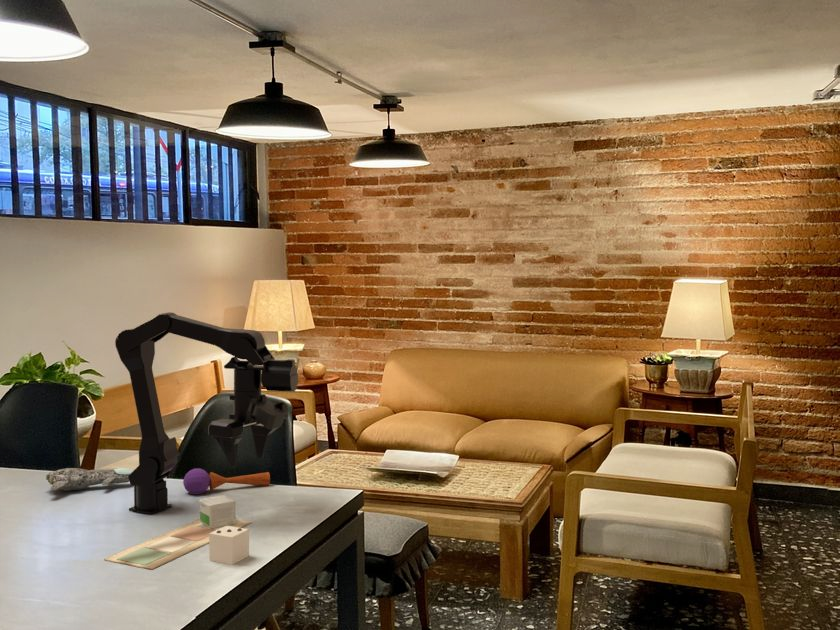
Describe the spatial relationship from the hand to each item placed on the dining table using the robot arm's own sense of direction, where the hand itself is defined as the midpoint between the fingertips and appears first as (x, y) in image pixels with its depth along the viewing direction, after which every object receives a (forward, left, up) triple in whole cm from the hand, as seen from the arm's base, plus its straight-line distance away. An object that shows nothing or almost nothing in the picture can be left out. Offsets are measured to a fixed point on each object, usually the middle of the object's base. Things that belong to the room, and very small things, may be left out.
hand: (246, 462), depth 175 cm
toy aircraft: (-45, +1, -11) cm, 46 cm away
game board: (-1, -19, -11) cm, 22 cm away
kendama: (-16, +14, -12) cm, 24 cm away
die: (+13, -23, -11) cm, 29 cm away
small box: (-1, -9, -11) cm, 14 cm away
